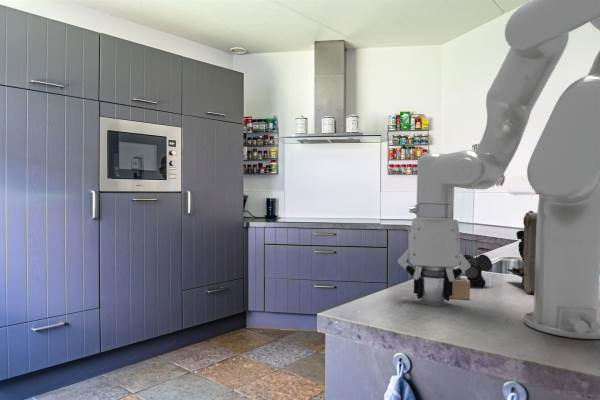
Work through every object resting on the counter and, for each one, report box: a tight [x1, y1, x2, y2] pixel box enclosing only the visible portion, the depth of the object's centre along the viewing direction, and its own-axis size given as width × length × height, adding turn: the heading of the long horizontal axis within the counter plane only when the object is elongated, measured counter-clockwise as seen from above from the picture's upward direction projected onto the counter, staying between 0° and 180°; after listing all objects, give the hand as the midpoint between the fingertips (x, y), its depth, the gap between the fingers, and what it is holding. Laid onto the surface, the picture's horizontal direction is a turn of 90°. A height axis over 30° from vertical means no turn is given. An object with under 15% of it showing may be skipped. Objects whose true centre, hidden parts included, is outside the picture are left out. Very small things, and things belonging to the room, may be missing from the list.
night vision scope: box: [458, 254, 493, 288], centre depth 112 cm, size 8×18×10 cm
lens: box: [419, 267, 446, 307], centre depth 89 cm, size 5×5×8 cm
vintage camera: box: [506, 210, 537, 295], centre depth 105 cm, size 10×16×20 cm, turn 174°
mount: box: [420, 267, 471, 300], centre depth 98 cm, size 10×10×6 cm
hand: (432, 297), depth 89 cm, fingers closed on lens, 5 cm apart
